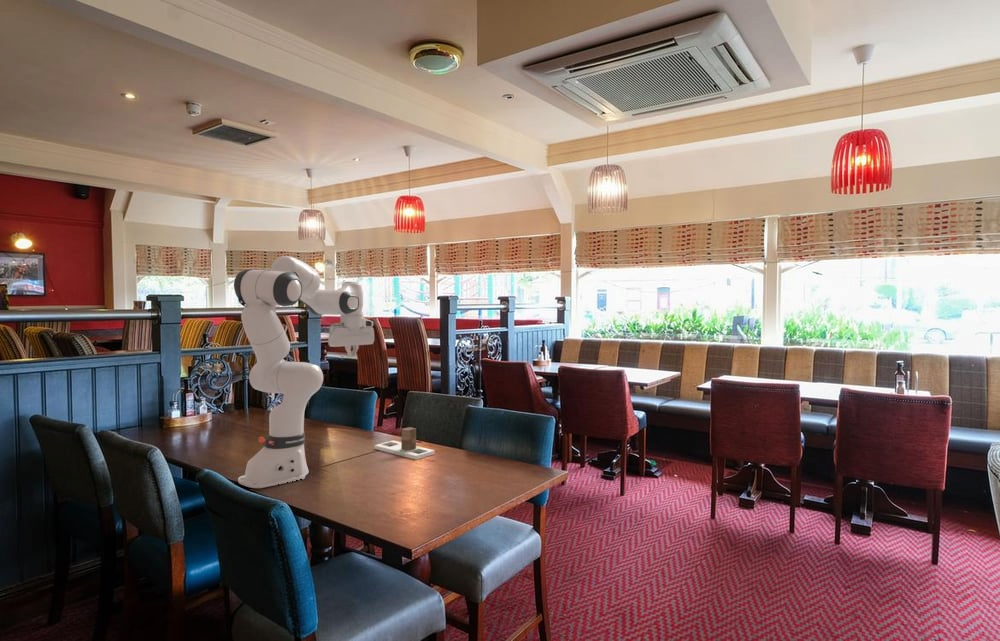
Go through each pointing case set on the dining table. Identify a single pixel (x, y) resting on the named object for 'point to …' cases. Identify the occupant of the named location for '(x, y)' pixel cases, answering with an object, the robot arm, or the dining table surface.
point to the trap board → (396, 449)
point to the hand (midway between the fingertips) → (351, 356)
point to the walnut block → (408, 438)
